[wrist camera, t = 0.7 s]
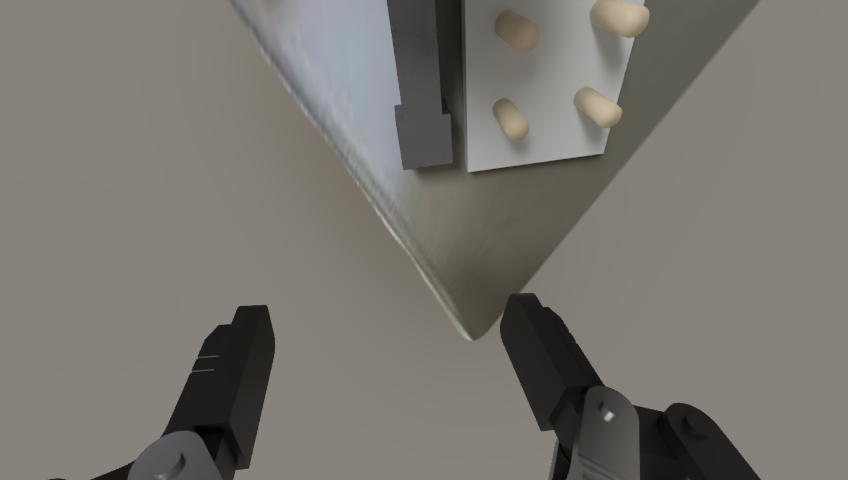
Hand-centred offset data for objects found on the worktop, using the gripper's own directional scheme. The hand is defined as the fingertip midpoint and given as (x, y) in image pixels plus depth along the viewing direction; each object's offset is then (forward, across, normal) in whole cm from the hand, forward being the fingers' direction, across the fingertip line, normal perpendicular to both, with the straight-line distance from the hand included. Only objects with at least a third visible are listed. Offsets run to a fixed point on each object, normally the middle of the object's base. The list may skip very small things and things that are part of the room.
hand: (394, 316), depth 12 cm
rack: (+19, -13, -6) cm, 24 cm away
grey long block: (+20, -3, -5) cm, 21 cm away
